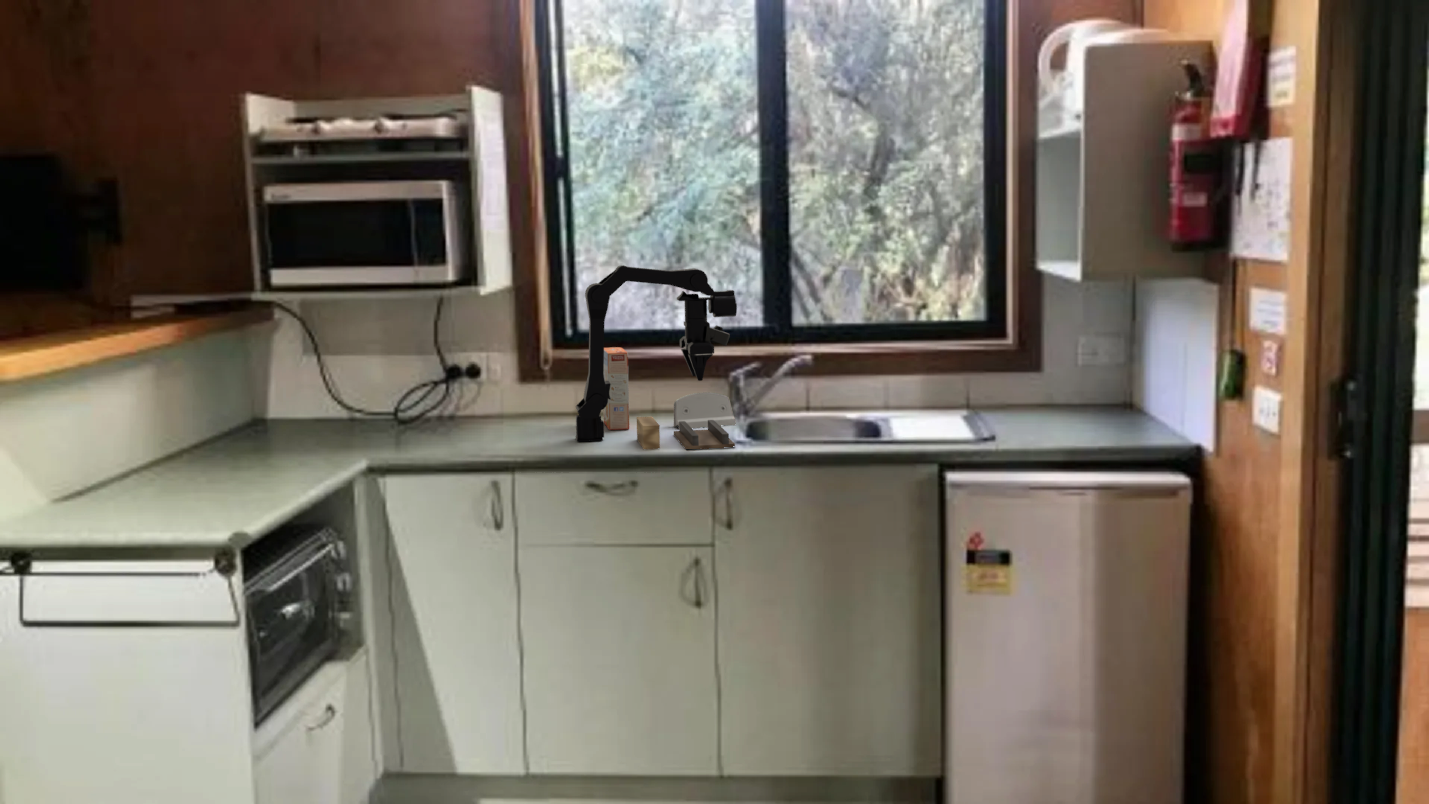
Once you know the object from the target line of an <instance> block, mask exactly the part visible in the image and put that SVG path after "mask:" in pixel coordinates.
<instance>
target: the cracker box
mask: <svg viewBox="0 0 1429 804" xmlns="http://www.w3.org/2000/svg"><path fill="white" fill-rule="evenodd" d="M604 380H605V381H609V382H610V384H611V385H610V391H609V395H610V398H611V399H610V400H609V399H608V403H607V406H606V407H605V408H604V409H603V410H602V411H603V415H602V416H603V422H604V426H606V427H607V429H608V430H609V431H620V430H622V431H623V430H629V429H630V398H629V397H630V390H629V352H628V351H626V349H624V348H623V347H618V346H617V347H616V346H612V347H604Z"/></svg>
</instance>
